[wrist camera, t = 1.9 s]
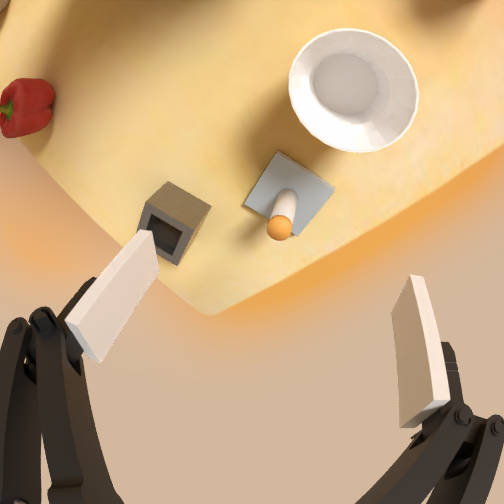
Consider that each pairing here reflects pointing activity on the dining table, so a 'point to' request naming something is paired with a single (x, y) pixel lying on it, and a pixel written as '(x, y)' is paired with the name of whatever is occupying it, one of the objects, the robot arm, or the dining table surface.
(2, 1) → the bowl
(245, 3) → the dining table surface
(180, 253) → the grey square socket box
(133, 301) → the robot arm
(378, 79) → the cup
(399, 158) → the dining table surface
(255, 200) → the keeper post
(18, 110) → the vegetable
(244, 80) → the dining table surface
